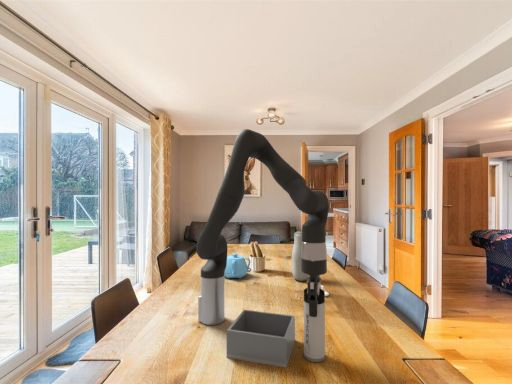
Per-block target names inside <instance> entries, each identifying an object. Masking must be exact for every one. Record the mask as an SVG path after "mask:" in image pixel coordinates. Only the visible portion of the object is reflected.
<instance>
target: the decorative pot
mask: <svg viewBox="0 0 512 384" xmlns="http://www.w3.org/2000/svg"><path fill="white" fill-rule="evenodd" d="M231 254H232V255H227V266H226V269H225V277H226V278H227V279H231V278H235V279H236V278H237V279H243V278H244V277H246V275H247V273H251V272H252V267H250V265H251V262H252V261H251V259H250V257H249V258H248V257H244V256H243V255H239V254H238V253H231ZM246 260H248V264H247V262H246Z"/></svg>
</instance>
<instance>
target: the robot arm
mask: <svg viewBox="0 0 512 384" xmlns="http://www.w3.org/2000/svg"><path fill="white" fill-rule="evenodd" d="M250 158H252V159H256V160H258V161H259V162H260V163H262V164H263V165H265V166H266V167H267V169H268V170H269V172H270V174H271V176H272V178H273V180H274V181H275V183H277V184H278V185H279V186H280V187H281V188H282V189H283V190H284V191H285V193H287V194H288V196H289V198H290V199H291V200H292V202H293V204H294V205H295V207H297V208H298V210H300V212H302V213H304V214H307V219H306V221H305V222H304V223H303V224H302V226H301V227H302V228H301V231H302V247H301V270H302V272H303V273H305V274H308V275H309V277H308V279H307V280H306V285H307V287H306V288H307V294H308V300H307V302H308V303H309V316H310V317H317V303H318V301H317V298H318V296H319V291H320V289H321V285H322V277H320V276H322V275H326V274H327V271H328V270H327V268H328V265H327V264H328V263H327V259H328V258H327V255H328V254H327V242H326V239H327V238H326V236H327V234H326V225H327V221H328V217H329V209H330V203H329V197H328V195H327V194H326V193H324V192H323V191H321V190H312V189H311V188H309V187H308V185H307V181H306V179H305V178H304V177H303V176H302V175H301V174H300V173H299V172H298V171H297V170H296V169H295V168H294V167H292V166H291V165H290V164H289V163H288V162H287V161H286V160H285V159H284V158H283V157H282V156H281V155H280V154H279V153H278V152H277V150H276V149H275V148H274V147H273V146H272V144H271V143H270V142H269V140H268V139H267V138H266V137H265V135H263V134H262V133H259V132H257V131H255V130H252V129H248V128H245V129H242V130H241V131H240V132H238V135H237V136H236V138H235V140H234V143H233V147H232V150H231V155H230V158H229V162H228V166H227V168H226V171H225V174H224V178H223V180H222V182H221V185H220V188H219V190H218V192H217V195H216V197H215V201H214V203H213V206H212V209H211V212H210V213H209V216H208V219H207V221H206V223H205V224H204V225H205V226H204V227H203V229H202V231H201V233H200V235H199V238H197V243H196V246H195V247H196V249H195V250H196V254H197V256H198V257H199V258H200V259H201V260H205V261H206V260H207V261H206V262H205V264H204V265H203V266H202V267H201V269H200V295H198V299H197V300H198V303H197V306H198V307H197V308H198V309H197V310H198V311H197V312H198V315H197V316H198V317H197V318H198V319H197V320H198V323H199V322H200V323H202V324H203V325H207V326H215V325H218V324H221V323H223V322H224V321H225V285H226V284H225V279H226V278H225V269H226V266H227V257H228V242H227V239H226V237H225V236H224V235H223V234H222V232H223V229H224V228H226V225H227V224H228V223H229V222H230V221H231V220H232V219H233V217H234V216H235V215H236V213H237V212H238V211H239V208H240V206H241V204H242V202H243V198H244V196H245V192H246V189H245V171H246V167H247V164H248V161H249V159H250ZM311 296H315V299H311Z"/></svg>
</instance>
